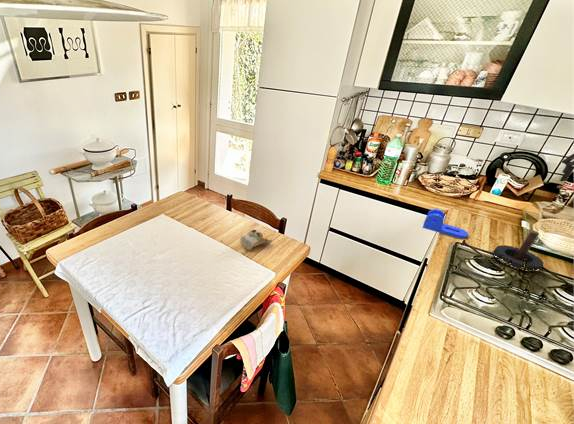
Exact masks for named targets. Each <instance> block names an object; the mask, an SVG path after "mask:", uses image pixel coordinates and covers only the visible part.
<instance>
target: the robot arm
mask: <svg viewBox="0 0 574 424" xmlns="http://www.w3.org/2000/svg"><path fill="white" fill-rule="evenodd" d="M561 163H562V164H564V165H565V167H564V168H563V170H562V172H561V173H562V174H563V175H562V176H561V178H560V179H559V182H566V181H568V179H569V178H570V175H571V174H572V173H573V171H574V153H572V154H570V155H569V156H567V157H566V158H564V159H563V160H562V161H561Z"/></svg>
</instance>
